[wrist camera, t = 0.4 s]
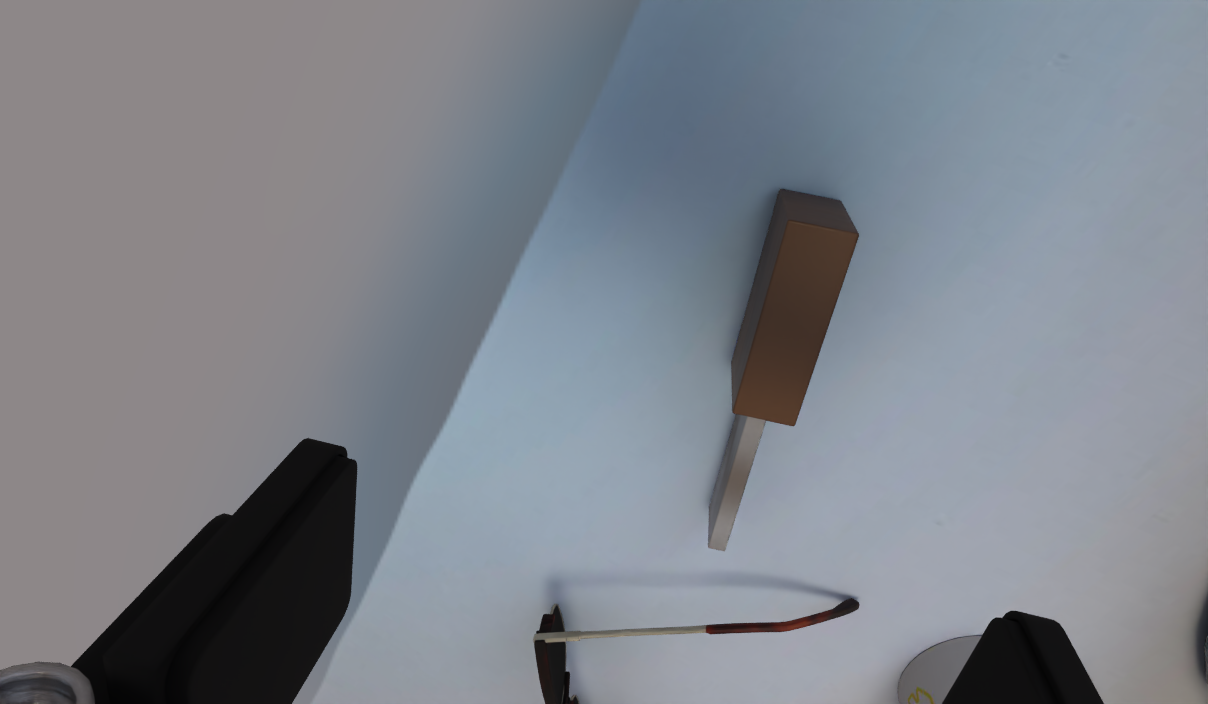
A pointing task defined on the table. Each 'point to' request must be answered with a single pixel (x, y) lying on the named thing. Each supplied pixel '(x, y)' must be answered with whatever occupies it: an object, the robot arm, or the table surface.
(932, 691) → the cup
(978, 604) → the table surface
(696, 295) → the table surface
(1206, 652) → the bowl
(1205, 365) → the table surface
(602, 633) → the sunglasses
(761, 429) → the knife
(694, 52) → the table surface
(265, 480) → the robot arm
